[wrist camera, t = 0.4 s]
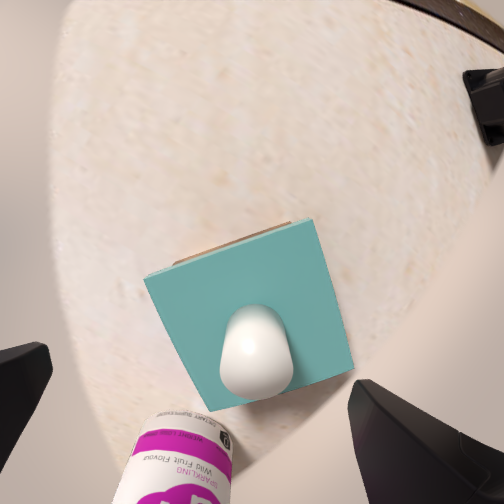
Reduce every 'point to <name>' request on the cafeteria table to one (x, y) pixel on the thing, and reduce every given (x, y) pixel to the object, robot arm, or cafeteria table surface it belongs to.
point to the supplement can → (178, 462)
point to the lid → (254, 317)
